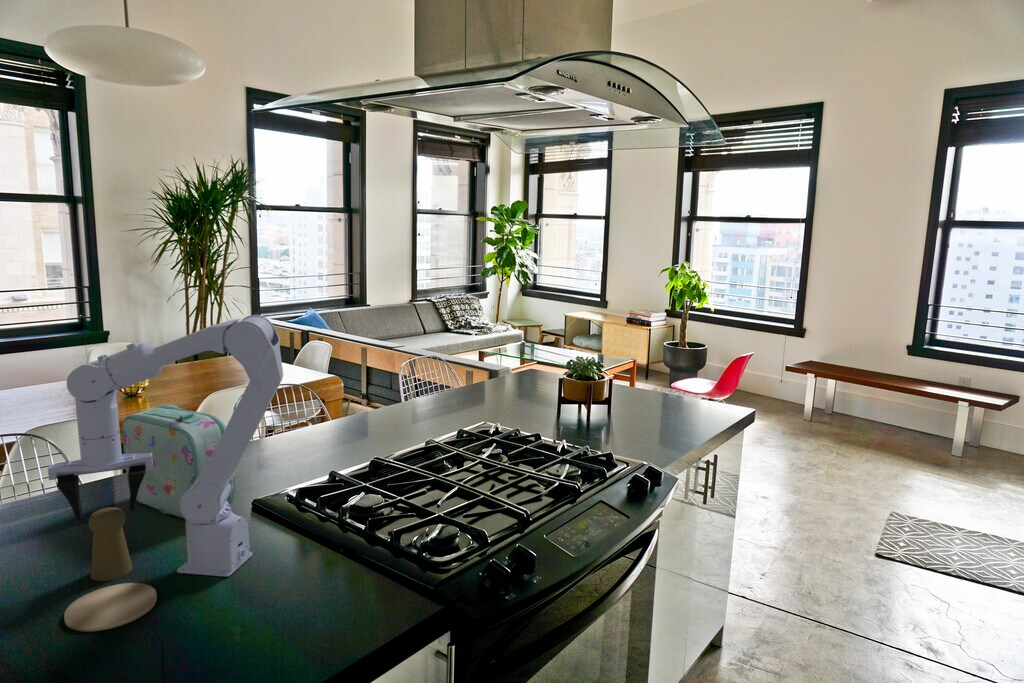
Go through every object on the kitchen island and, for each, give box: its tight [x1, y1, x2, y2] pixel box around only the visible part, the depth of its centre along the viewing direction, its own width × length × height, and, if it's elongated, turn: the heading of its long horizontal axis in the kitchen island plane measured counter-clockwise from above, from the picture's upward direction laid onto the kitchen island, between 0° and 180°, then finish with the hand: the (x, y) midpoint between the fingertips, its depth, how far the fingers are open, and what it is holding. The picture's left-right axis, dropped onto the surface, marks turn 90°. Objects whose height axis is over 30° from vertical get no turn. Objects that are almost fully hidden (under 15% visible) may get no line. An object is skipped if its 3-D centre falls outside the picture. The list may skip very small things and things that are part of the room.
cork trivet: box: [63, 582, 158, 632], centre depth 100 cm, size 12×12×1 cm
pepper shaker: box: [88, 506, 133, 582], centre depth 110 cm, size 6×6×11 cm
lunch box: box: [122, 404, 236, 520], centre depth 137 cm, size 27×10×21 cm, turn 61°
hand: (106, 513), depth 110 cm, fingers open, 7 cm apart
